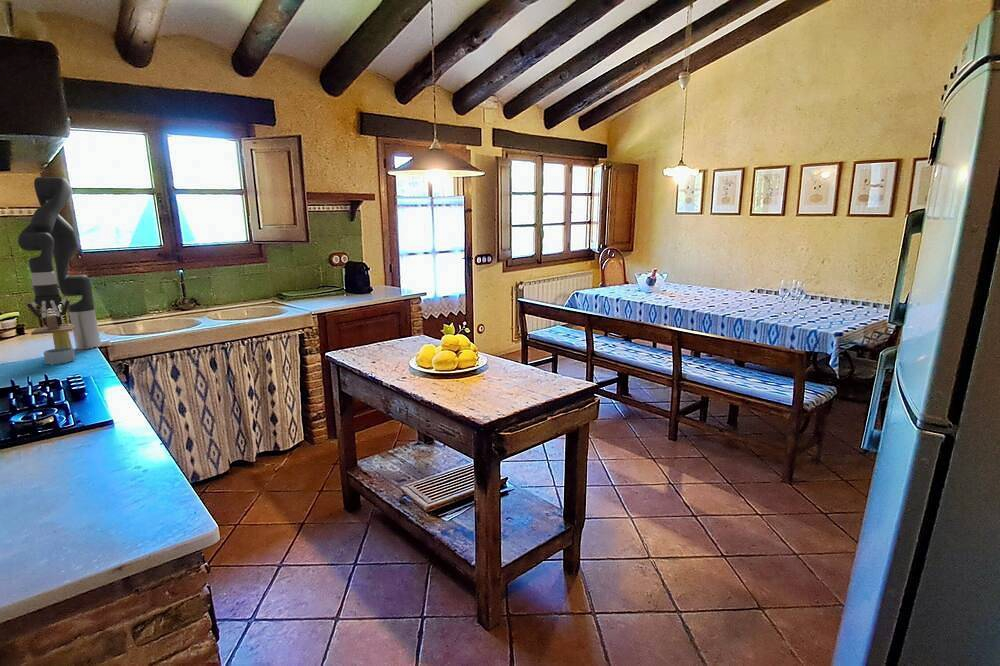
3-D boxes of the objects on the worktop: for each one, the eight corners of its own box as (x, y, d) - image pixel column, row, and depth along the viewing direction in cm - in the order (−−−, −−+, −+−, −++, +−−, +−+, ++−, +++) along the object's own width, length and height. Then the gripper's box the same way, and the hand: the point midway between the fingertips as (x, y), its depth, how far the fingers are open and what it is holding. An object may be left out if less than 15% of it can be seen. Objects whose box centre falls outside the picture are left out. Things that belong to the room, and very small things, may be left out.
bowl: (48, 361, 215) (46, 349, 214) (76, 357, 220) (74, 346, 219) (44, 366, 208) (42, 353, 207) (73, 362, 212) (71, 350, 211)
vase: (63, 358, 220) (57, 325, 217) (52, 357, 221) (45, 324, 218) (77, 354, 226) (71, 322, 223) (66, 354, 227) (59, 322, 224)
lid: (37, 329, 213) (34, 316, 212) (76, 326, 220) (73, 312, 218) (31, 334, 203) (28, 320, 201) (72, 330, 209) (69, 316, 208)
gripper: (68, 281, 214) (76, 322, 217) (23, 284, 207) (32, 326, 210) (66, 282, 208) (74, 325, 211) (19, 285, 200) (29, 329, 204)
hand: (53, 325), depth 211 cm, fingers closed on lid, 3 cm apart
